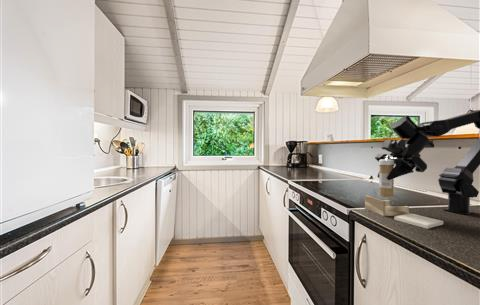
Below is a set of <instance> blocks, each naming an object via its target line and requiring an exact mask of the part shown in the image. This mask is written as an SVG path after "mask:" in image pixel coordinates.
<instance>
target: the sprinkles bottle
mask: <svg viewBox="0 0 480 305" xmlns="http://www.w3.org/2000/svg"><path fill="white" fill-rule="evenodd" d="M378 165H379V171H380V173H379V172H378V173H379V178H378V179H379V182H378V184H379V193H378V195H379V197H383V198H394V196H395V195H394V194H395V193H394V186H395V183H394V182H395V178H394V179H391V180H387V176H388V175H389V173H390V172H391V171H392V170H393V168H394V167H395V164H394V160H387V159H382V160H379V162H378Z"/></svg>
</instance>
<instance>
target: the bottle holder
mask: <svg viewBox="0 0 480 305" xmlns="http://www.w3.org/2000/svg"><path fill="white" fill-rule="evenodd" d="M364 209H366V210H368V211H370V212H373V213H375V214H378V215H380V216H382V217H388V216H389V217H390V216H391V217H393V216H394V217H395V216H400V215H405V214H410V206H408V205H395V206H393V205H392V206H391V200H390V199H389V200H388V199H386V200H383V199H379V198H377V197H374V196H370V195H366V194H365V195H364Z"/></svg>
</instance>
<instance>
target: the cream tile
mask: <svg viewBox="0 0 480 305" xmlns="http://www.w3.org/2000/svg"><path fill="white" fill-rule="evenodd" d="M393 219H394V221H398V222H402V223H404V224H409V225H413V226H415V227H420V228H423V229H425V230H426V229H427V230H428V229H431V228H434V227H438V226H442V225H444V221H443V220H440V219H436V218H432V217H427V216H424V215H419V214H416V213H415V214H414V213H410V212H409V214H405V215H399V216H394V218H393Z"/></svg>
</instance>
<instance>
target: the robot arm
mask: <svg viewBox="0 0 480 305" xmlns="http://www.w3.org/2000/svg"><path fill="white" fill-rule="evenodd" d="M471 124H474V126H475V128H477V129H479V130H478V134H479V135H478V136H479V137H478V138H477V140H476V141H475V143H474V144H473V145H472V146H471V147H470V149H469V150H468V151H467V152H466V153H465V155H464V156H463V157H462V158H461V160H460V161H459V162H458V163H457V165H456V166H455V167H446V168H444V169H443V171H442V173H440V174H439V175H438V176H439V178H438V179H437V180H438V181H437V182H438V184H439V187H440V189H441V193H443V194H447V195H448V197H447V207H446V208H443V211H446V212H451V213H457V214H462V215H471V214H473V213H475V211H474V210H471V209H470V208H471V198H472V199H473V198H477V197H478V195H479V193H480V191H479V190H478V189H477V188H476V187H475V186H474V185H473V182H474V173H475V172H476V171H477V169H478V167H479V166H480V109H476V110H472V111H469V112H467V113H463V114H459V115H457V116H453V117H449V118H446V119H439V120H432V121H431V120H430V121H424V122H421V123H419V124H418V125H417V124H416V123H415V122H414V121H413V120H412V118H411V117H410V116H409V115H404V116H403V117H402V118H400V119H398V120H397V121H394V122H393V123H392V124H391V125H390V127H389V128H390V129H391V130H392V131H393V132H394V133H395V134H396V135H397V137H399V138H400V139H399V138H398V139H397V140H396V139H395V140H394V139H386V140H384V141H383V143H382V145H381V147H380V148H381V150H385V151H387V152H389V153H388V154H389V155H390V156H391V157H390V156H389V155H388V154H387V153H377V154H376V156H375V157H374V159H375V160H376V161H377V162H378V163H379V160H382V159H387V160H394V166H393V170H392V171H391V172H390V173H389V175H388V176H387V180H391V179H394V180H395V178H398V177H402V176H404V175H408V174H411V173H412V174H413V173H414V169H415V172H417V173H424V172H425V171H426V170H427V169H428V164H427V163H426V161H425V160H423V159H422V158H421V156H422V155H421V154H420V153H421V152H422V151H423V150H424V149H425V148H426V149H428V148H429V149H430V148H432V149H433V148H435V144H434V140H432V139H431V140H430V138H435V137H436V138H437V137H441V136H444V135H446V134H448V133H449V132H450V131H451V130H454V129H457V128H461V127H464V126H468V125H471ZM379 173H380V170H379V172H378V173H377V178H378V179H379Z"/></svg>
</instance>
